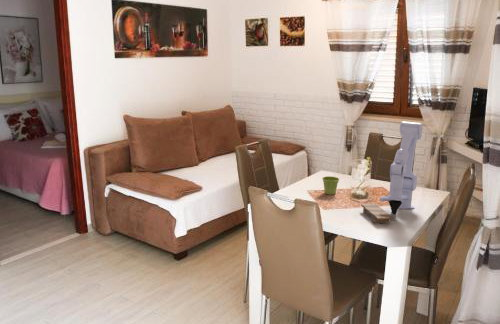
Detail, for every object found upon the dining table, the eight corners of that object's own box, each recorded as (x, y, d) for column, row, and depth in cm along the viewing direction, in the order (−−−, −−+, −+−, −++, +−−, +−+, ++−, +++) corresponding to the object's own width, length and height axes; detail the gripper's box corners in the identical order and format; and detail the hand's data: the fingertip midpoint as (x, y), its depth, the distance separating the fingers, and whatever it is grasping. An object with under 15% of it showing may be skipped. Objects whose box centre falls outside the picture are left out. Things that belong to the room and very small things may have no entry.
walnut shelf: (360, 210, 227) (361, 204, 227) (374, 210, 229) (375, 203, 228) (377, 225, 208) (377, 218, 207) (392, 224, 209) (393, 217, 208)
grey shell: (369, 214, 222) (369, 210, 222) (388, 213, 224) (388, 210, 223) (375, 220, 214) (376, 216, 214) (395, 219, 216) (396, 215, 215)
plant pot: (339, 196, 251) (340, 181, 249) (322, 195, 251) (323, 180, 249) (337, 191, 260) (337, 176, 258) (320, 190, 260) (321, 176, 258)
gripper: (385, 190, 211) (383, 218, 215) (414, 189, 214) (411, 217, 217) (379, 186, 218) (376, 213, 221) (407, 185, 220) (404, 212, 224)
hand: (393, 214), depth 219 cm, fingers closed
